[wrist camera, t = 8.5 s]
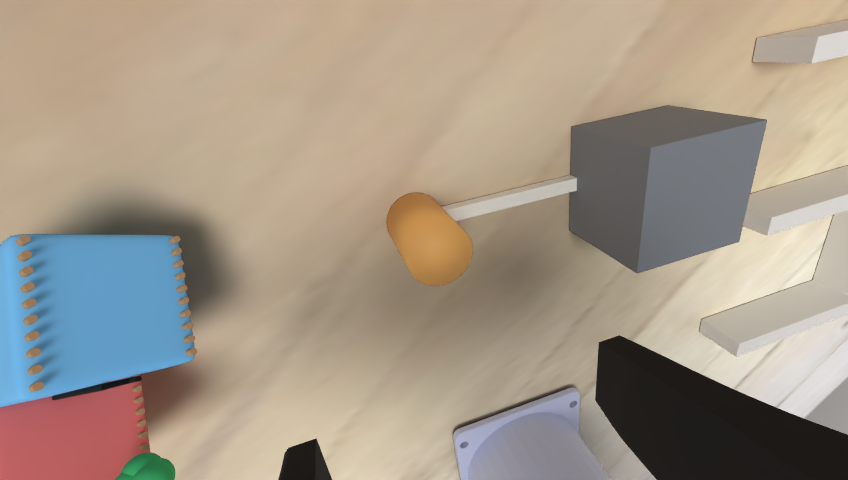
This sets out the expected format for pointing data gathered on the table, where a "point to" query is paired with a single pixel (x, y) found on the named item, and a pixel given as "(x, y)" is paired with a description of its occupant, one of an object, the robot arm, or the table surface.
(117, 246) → the building blocks
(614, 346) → the robot arm
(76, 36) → the table surface
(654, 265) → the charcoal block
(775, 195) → the lane rack
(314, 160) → the table surface
